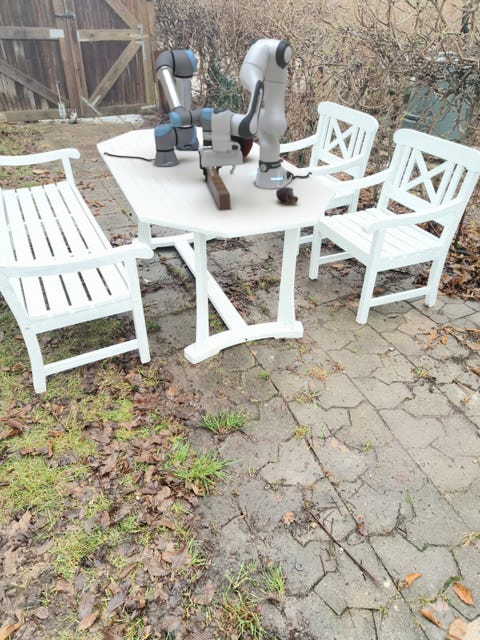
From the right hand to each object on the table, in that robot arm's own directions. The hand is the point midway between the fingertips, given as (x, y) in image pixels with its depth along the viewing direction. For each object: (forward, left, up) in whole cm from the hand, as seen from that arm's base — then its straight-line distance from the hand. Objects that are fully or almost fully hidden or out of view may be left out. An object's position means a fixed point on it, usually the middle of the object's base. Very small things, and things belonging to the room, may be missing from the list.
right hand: (222, 174), depth 220 cm
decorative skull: (-74, -49, -16) cm, 90 cm away
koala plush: (-78, -95, -16) cm, 124 cm away
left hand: (-28, -31, -15) cm, 45 cm away
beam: (-14, -16, -16) cm, 26 cm away
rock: (-22, +23, -16) cm, 36 cm away
